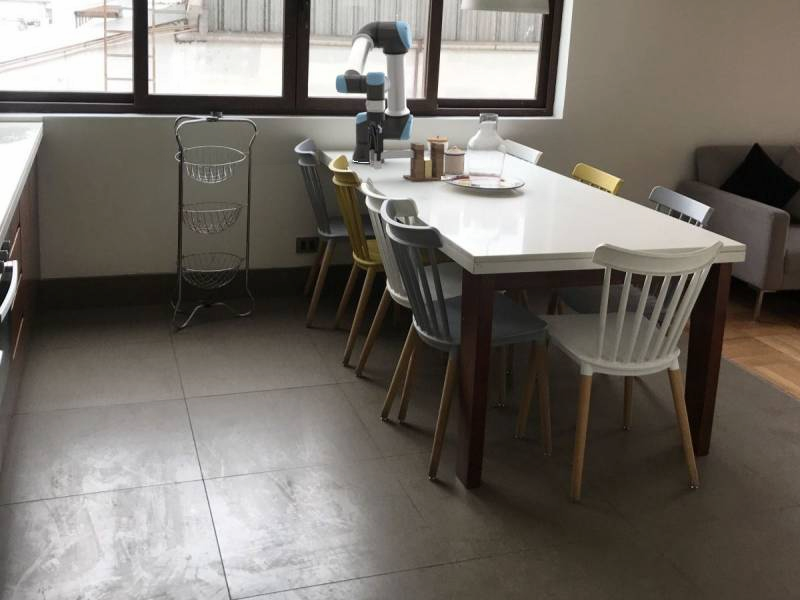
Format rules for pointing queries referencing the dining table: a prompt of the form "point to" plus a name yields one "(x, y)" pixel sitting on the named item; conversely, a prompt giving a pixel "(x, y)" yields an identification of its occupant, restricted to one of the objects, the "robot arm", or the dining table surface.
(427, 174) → the block
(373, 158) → the shaft
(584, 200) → the dining table surface
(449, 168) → the teacup with lid
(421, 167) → the wooden pillar stand
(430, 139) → the lidded jar
